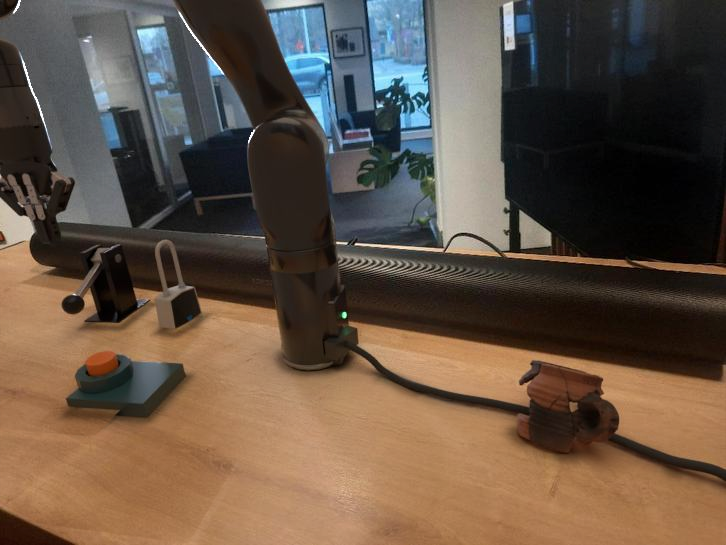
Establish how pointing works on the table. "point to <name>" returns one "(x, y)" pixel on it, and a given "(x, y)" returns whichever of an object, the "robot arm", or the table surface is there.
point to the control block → (127, 387)
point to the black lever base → (111, 286)
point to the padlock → (175, 296)
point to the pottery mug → (565, 408)
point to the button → (101, 363)
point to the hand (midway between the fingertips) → (52, 242)
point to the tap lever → (83, 286)
